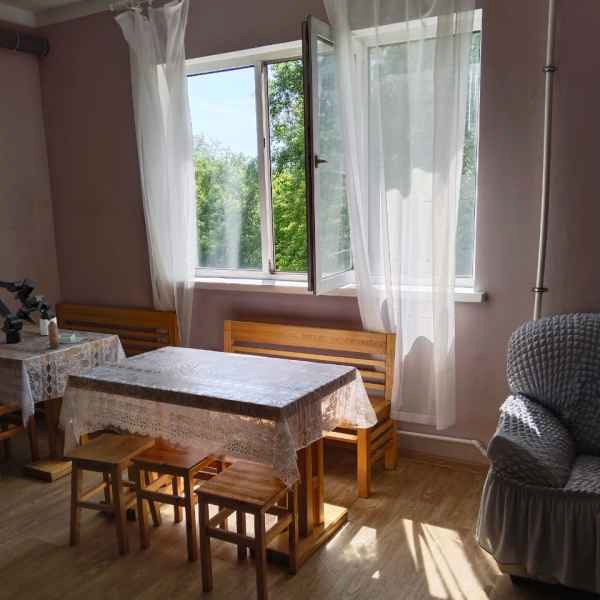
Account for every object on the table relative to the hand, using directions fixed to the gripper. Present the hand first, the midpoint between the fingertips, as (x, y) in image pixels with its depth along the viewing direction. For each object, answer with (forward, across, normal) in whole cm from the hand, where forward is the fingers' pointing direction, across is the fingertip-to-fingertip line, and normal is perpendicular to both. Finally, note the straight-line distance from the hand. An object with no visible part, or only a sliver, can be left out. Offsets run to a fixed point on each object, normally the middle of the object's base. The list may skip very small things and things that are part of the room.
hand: (43, 322), depth 324 cm
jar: (-6, +21, +25) cm, 33 cm away
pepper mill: (+14, 0, +4) cm, 15 cm away
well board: (+9, +13, +10) cm, 19 cm away
